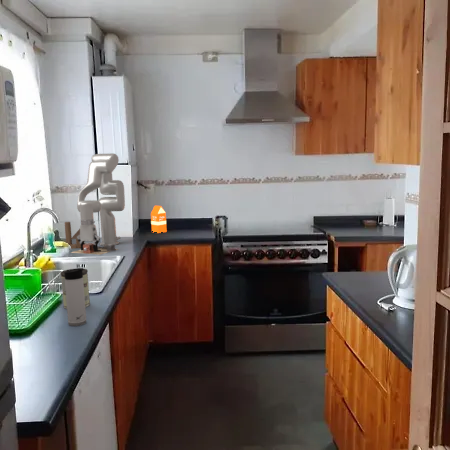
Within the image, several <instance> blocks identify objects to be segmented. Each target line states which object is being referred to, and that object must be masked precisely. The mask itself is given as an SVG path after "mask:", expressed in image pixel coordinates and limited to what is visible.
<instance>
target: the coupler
mask: <svg viewBox="0 0 450 450" xmlns="http://www.w3.org/2000/svg"><path fill="white" fill-rule="evenodd" d="M86 243H87V244H84V245H83V252H84V253H93V252H96V251H93V245H94V244H93V242H86ZM84 253H83V254H84Z"/></svg>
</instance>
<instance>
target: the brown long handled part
mask: <svg viewBox="0 0 450 450" xmlns="http://www.w3.org/2000/svg"><path fill="white" fill-rule="evenodd" d="M71 225H72V224H71V221H65V222H64V234H65V244H66V243H68V244H69V245H70V246H71V249H70V250H73V249H81V244H80V242H79V241H78V239H77V236H78V235H80V228H79V229H78V230H77V231H76V232H75V233H74V235H73V236H72V226H71ZM73 240H75V243H73Z"/></svg>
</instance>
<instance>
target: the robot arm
mask: <svg viewBox="0 0 450 450" xmlns="http://www.w3.org/2000/svg"><path fill="white" fill-rule="evenodd" d="M119 161H120V159H119V156H118V155H117V153H96V154H93V155H92V156H91V161H90V163H89V164H88V173H87V179H86V180H87V181H86V184H85V185H84V186H83V187H82V188H81V190H80V191H79V193H78V195H77V203H76V209H77V211H78V212H79V215H80V217H79V218H80V226H79V227H80V228H79V229H80V235H78V236H77V239H78V241H79V242H80V244H81V248H80V250H81V251H82V250H83V245H84V244H85V243H86V242H88V243H93V244H94V245H93V251H98V247H99V246H100V247H103V246H104V244H115V246H117V245H119V244H120V242H119V241H118V240H121V237H120V236H117V230H116V229H117V227H116V225H117V224H116V216H115V214H114V213H113V212H122V211H123V212H124V210H125V208H126V207H125V206H126V201H125V200H126V198H125V195H126V194H125V185H124V183H123V181H122V180H120V179H113V172H114V171H115V169H116V168H117V166H118V165H119ZM97 189H99V193H100V194H101V195H102V196H103V195H104V196H103V197H100V198H99V199H98V200H94V199H93V200H91V199H90V200H89V199H88V200H87V199H86V197H87V195H89V194H90V193H91V192H93V191H95V190H97ZM113 195H115V196H113ZM85 199H86V200H85ZM97 213H99V219H100V220H99V221H100V229H101V230H100V233H101V234H100V236H101V237H100V236H99V235H98V232H97V231H98V229H97V226H96V224H95V222H96V221H95V220H94V218H95V217H94V214H97ZM100 240H101V242H100Z"/></svg>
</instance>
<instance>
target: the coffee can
mask: <svg viewBox="0 0 450 450" xmlns="http://www.w3.org/2000/svg"><path fill="white" fill-rule="evenodd" d="M71 269H72V268H70V269H69V268H68V269H65V270H62V271H61V272H60V273H59V274H60V280H61V289H62V301H63V308H64V309H66V310H67V302H66V290H65V275H64V272H66V271H67V270H71ZM82 272H83V274H82V275H83V283H84V296H85V308H87V307H89V306H90V305H91V302H90V301H91V300H90V289H89V277H88V276H89V275H88V269H86V268H83V271H82Z"/></svg>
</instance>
